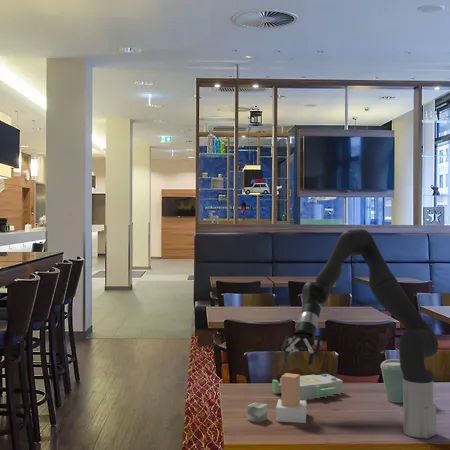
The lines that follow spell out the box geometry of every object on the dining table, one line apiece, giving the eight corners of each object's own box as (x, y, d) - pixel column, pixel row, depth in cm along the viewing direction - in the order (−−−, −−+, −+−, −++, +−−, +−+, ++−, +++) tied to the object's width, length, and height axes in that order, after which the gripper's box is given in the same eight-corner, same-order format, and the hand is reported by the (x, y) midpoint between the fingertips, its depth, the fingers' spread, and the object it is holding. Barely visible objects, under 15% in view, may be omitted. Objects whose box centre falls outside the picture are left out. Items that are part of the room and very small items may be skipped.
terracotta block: (299, 403, 202) (299, 374, 203) (295, 406, 198) (295, 377, 198) (286, 401, 205) (286, 373, 205) (281, 405, 200) (281, 376, 200)
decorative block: (321, 370, 245) (348, 381, 227) (322, 385, 245) (348, 397, 227) (267, 375, 236) (290, 387, 217) (267, 391, 236) (290, 404, 217)
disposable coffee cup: (399, 406, 214) (399, 365, 214) (375, 400, 222) (374, 361, 222) (415, 400, 221) (414, 361, 221) (390, 395, 229) (390, 357, 229)
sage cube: (267, 419, 200) (267, 404, 200) (259, 422, 196) (259, 408, 196) (255, 416, 203) (255, 402, 203) (247, 420, 199) (247, 405, 199)
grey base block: (306, 414, 205) (306, 400, 206) (305, 423, 196) (305, 408, 196) (278, 413, 207) (278, 399, 207) (276, 422, 197) (276, 407, 197)
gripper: (286, 319, 219) (276, 355, 209) (323, 321, 213) (314, 358, 203) (291, 331, 224) (281, 367, 213) (327, 333, 218) (318, 370, 207)
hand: (297, 363), depth 208 cm, fingers open, 8 cm apart
